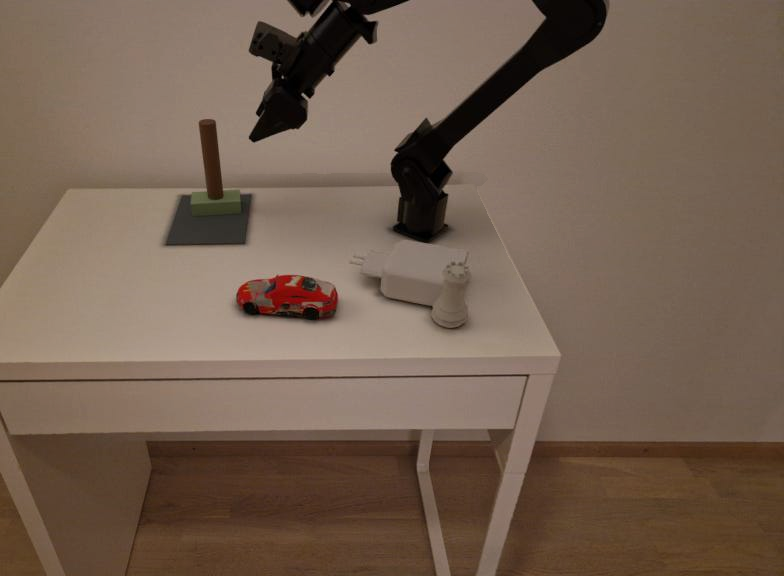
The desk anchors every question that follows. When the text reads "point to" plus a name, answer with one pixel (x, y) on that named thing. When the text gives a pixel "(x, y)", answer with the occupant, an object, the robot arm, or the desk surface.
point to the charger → (411, 270)
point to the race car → (288, 296)
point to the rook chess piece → (452, 296)
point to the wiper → (213, 178)
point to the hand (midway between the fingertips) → (254, 127)
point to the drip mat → (208, 225)
